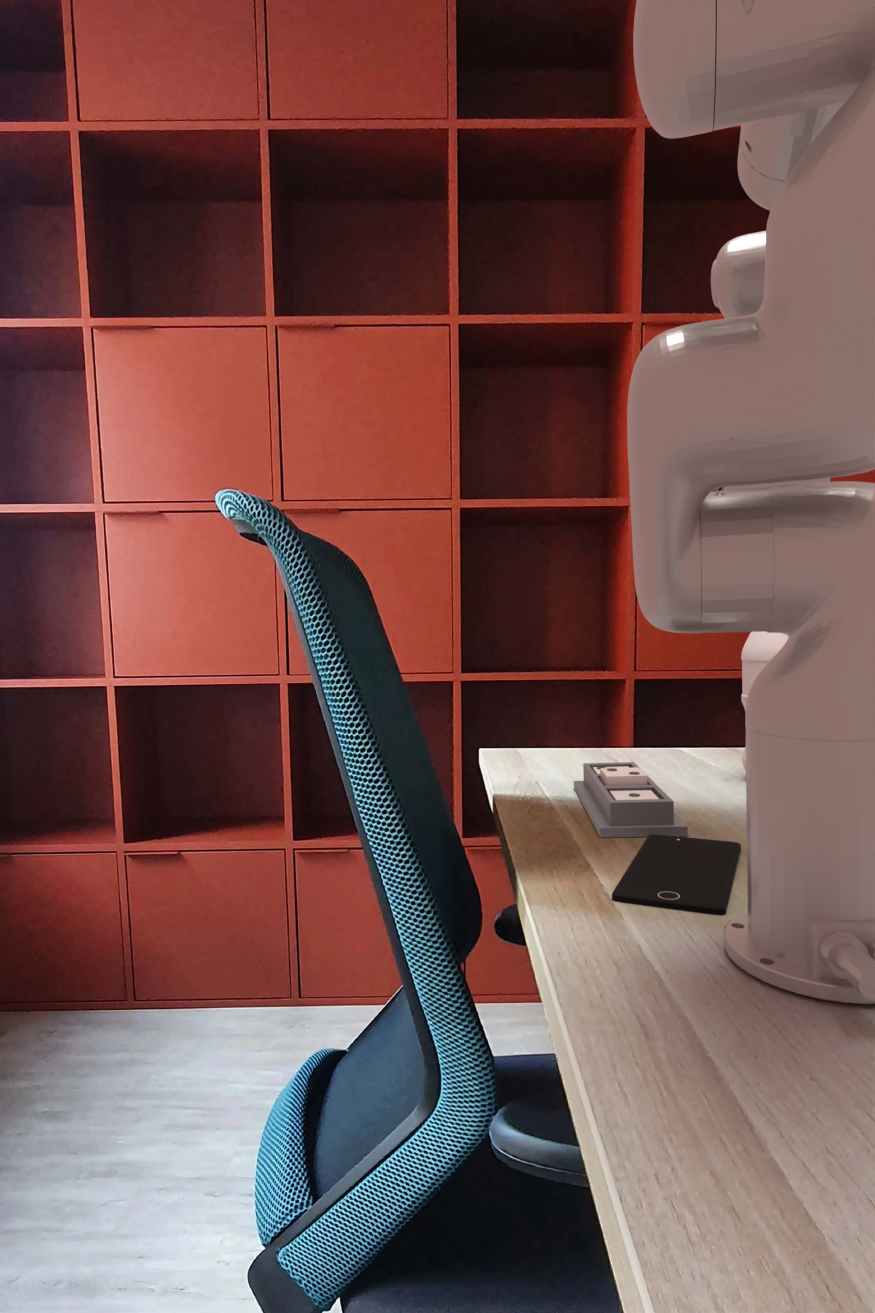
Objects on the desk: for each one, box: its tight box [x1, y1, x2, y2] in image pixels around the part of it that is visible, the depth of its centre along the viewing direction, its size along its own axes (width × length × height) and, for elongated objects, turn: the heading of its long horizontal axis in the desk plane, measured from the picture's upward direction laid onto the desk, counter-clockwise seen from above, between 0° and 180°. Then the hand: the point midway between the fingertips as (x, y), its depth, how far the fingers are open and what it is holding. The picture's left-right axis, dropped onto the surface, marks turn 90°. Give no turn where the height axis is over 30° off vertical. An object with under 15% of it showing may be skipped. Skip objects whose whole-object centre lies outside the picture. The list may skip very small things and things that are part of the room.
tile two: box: [600, 766, 648, 786], centre depth 90 cm, size 5×5×2 cm
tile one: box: [610, 790, 659, 800], centre depth 84 cm, size 5×5×2 cm
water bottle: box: [740, 631, 788, 772], centre depth 101 cm, size 7×7×25 cm
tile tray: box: [573, 761, 689, 839], centre depth 90 cm, size 22×9×4 cm, turn 177°
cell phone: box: [611, 834, 742, 916], centre depth 69 cm, size 9×18×1 cm, turn 155°
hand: (771, 572), depth 79 cm, fingers closed
